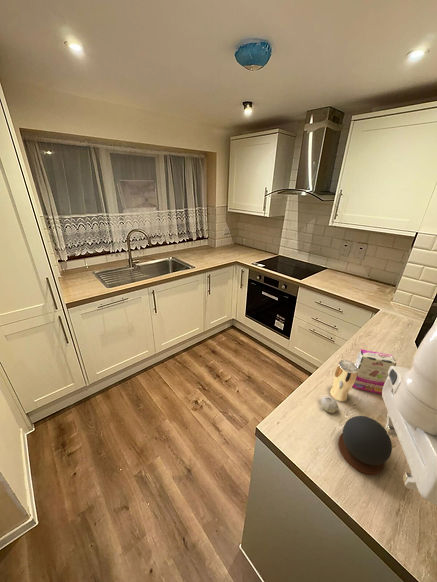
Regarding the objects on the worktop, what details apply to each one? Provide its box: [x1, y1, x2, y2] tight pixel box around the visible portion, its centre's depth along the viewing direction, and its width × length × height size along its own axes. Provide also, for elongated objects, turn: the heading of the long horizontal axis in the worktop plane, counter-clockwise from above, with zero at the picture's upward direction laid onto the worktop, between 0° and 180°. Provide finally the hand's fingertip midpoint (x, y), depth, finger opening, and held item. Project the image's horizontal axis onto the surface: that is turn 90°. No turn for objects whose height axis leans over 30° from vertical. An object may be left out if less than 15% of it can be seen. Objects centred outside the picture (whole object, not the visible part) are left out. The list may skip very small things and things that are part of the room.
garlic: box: [320, 395, 339, 414], centre depth 83 cm, size 6×5×5 cm
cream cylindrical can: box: [329, 359, 359, 402], centre depth 86 cm, size 7×7×15 cm
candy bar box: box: [352, 348, 397, 395], centre depth 90 cm, size 11×5×16 cm, turn 73°
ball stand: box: [337, 415, 393, 476], centre depth 68 cm, size 12×12×13 cm
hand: (398, 456), depth 44 cm, fingers open, 8 cm apart
